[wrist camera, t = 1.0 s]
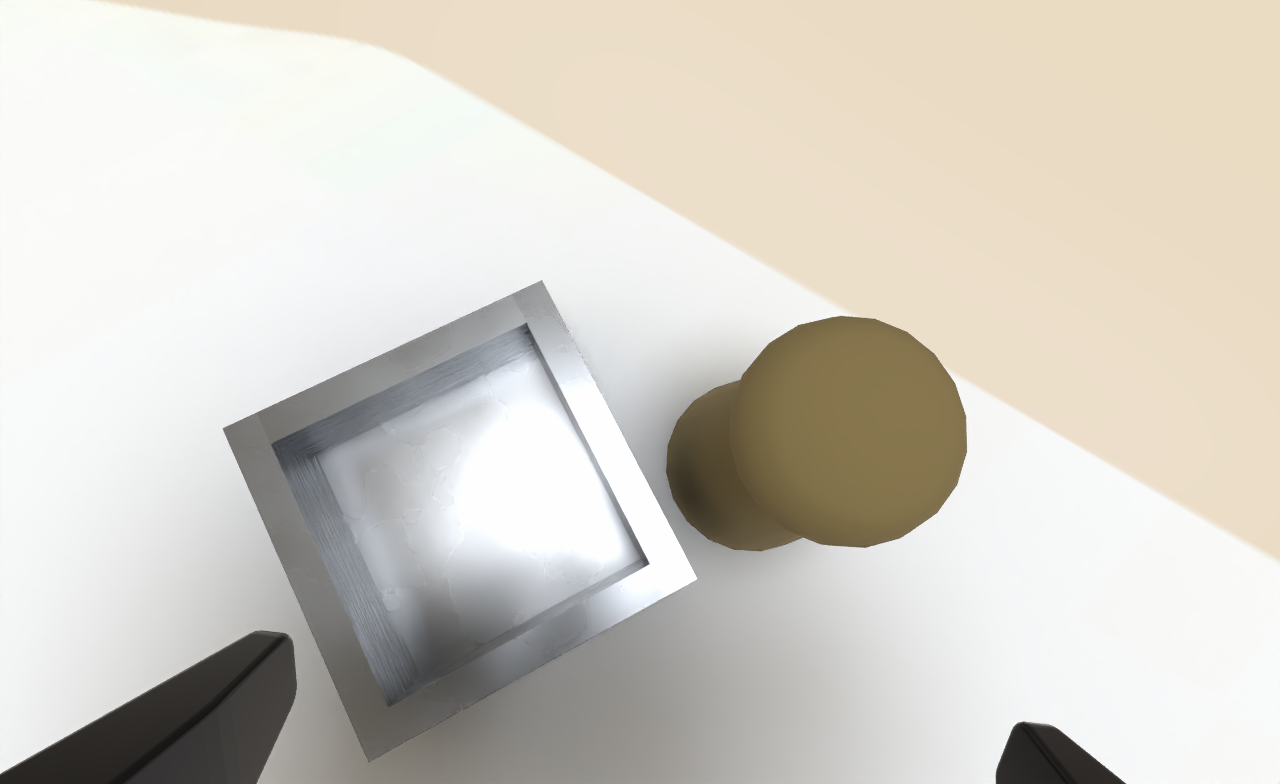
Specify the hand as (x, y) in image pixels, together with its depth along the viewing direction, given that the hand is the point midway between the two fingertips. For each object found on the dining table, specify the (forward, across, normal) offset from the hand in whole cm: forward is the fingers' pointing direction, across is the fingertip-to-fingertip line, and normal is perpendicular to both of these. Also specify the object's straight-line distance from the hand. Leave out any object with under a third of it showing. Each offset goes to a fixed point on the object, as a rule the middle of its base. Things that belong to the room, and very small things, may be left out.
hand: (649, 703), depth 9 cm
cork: (+16, -4, +4) cm, 17 cm away
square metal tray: (+14, +6, +6) cm, 16 cm away
